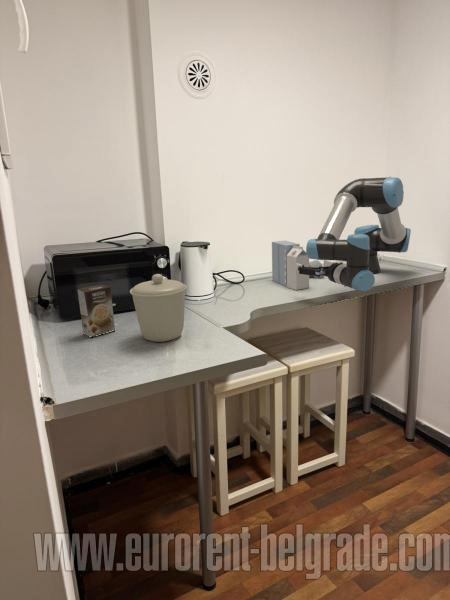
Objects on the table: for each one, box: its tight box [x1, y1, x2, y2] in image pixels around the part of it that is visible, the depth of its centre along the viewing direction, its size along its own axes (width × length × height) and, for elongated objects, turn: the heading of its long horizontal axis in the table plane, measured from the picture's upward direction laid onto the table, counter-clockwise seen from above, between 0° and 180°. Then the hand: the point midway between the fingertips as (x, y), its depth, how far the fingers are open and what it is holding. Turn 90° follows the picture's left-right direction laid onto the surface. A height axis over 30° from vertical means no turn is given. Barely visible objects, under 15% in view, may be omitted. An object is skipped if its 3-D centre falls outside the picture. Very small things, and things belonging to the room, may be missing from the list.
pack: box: [271, 240, 301, 288], centre depth 203 cm, size 7×14×19 cm, turn 21°
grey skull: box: [309, 259, 325, 279], centre depth 213 cm, size 11×8×8 cm
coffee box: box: [77, 284, 116, 337], centre depth 146 cm, size 9×6×16 cm
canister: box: [129, 273, 188, 343], centre depth 139 cm, size 18×18×21 cm
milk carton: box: [287, 245, 310, 291], centre depth 192 cm, size 7×7×19 cm
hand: (310, 264), depth 182 cm, fingers open, 13 cm apart
